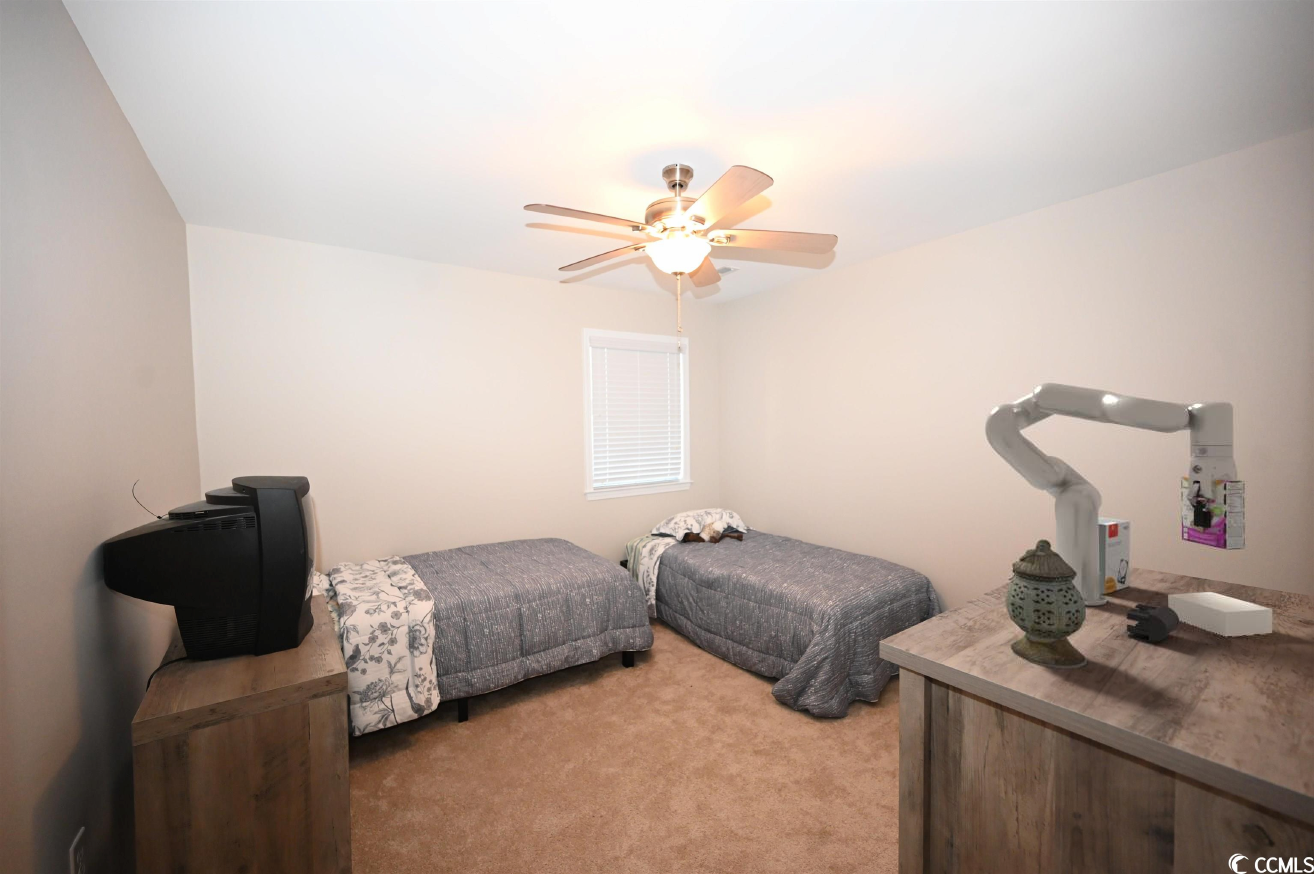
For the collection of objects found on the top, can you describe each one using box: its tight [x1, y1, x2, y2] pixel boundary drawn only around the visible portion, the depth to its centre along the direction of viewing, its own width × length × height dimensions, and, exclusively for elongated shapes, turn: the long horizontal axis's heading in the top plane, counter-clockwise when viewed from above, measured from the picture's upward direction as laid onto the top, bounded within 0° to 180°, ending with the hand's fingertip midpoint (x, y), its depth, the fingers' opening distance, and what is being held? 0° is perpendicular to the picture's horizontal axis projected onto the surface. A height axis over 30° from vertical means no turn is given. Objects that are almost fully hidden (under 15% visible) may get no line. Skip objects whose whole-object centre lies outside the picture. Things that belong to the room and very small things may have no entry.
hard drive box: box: [1098, 516, 1131, 595], centre depth 165 cm, size 16×8×20 cm, turn 119°
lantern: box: [1005, 539, 1088, 670], centre depth 121 cm, size 14×14×25 cm
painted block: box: [1167, 591, 1273, 638], centre depth 135 cm, size 12×13×6 cm
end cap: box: [1126, 603, 1180, 644], centre depth 129 cm, size 10×7×7 cm
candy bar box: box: [1180, 475, 1246, 551], centre depth 137 cm, size 11×5×16 cm, turn 2°
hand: (1211, 525), depth 137 cm, fingers closed on candy bar box, 5 cm apart
